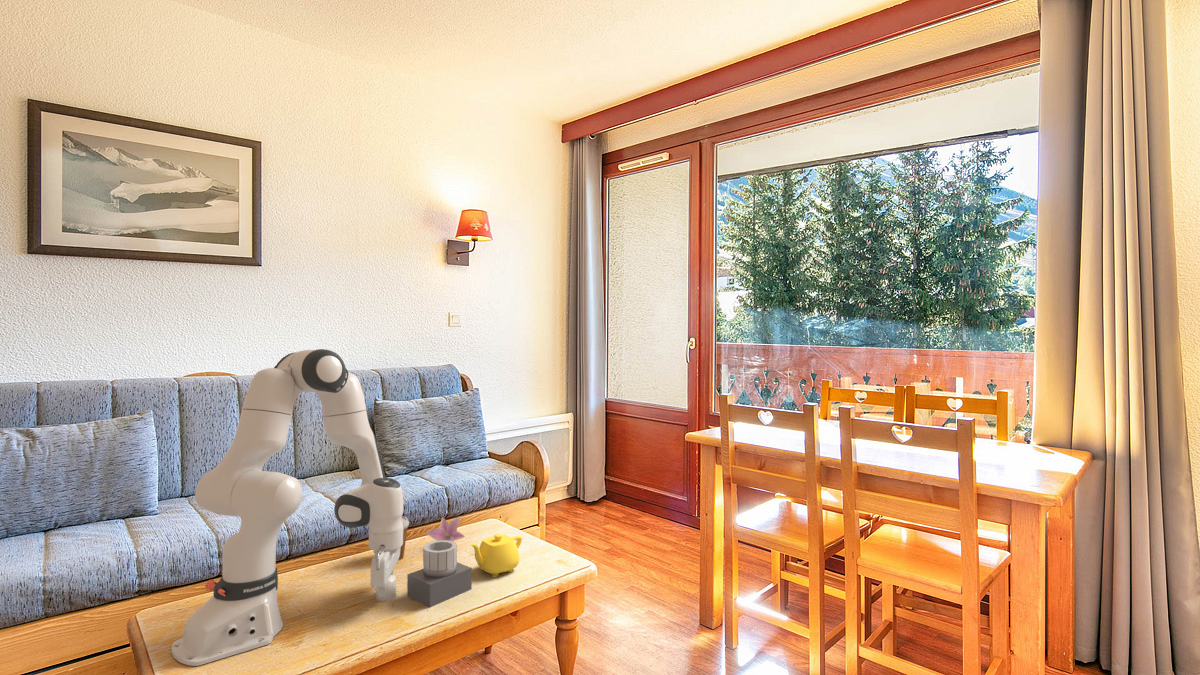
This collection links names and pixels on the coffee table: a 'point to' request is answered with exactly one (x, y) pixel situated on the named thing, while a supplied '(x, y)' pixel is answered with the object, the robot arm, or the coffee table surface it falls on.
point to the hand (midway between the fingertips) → (385, 589)
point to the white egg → (388, 590)
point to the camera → (439, 575)
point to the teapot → (498, 554)
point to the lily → (446, 531)
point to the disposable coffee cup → (404, 536)
